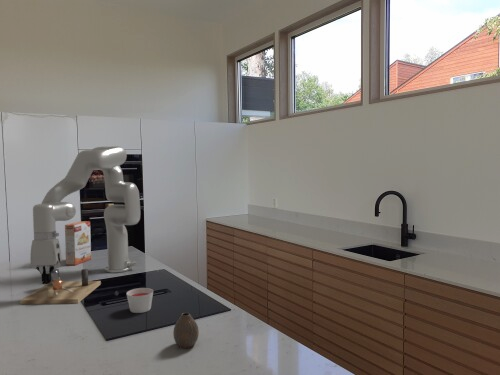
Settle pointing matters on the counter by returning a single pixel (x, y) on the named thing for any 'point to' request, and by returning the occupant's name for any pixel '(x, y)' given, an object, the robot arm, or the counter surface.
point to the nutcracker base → (63, 292)
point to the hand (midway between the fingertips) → (46, 283)
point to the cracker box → (77, 242)
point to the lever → (56, 280)
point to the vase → (185, 331)
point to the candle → (140, 299)
